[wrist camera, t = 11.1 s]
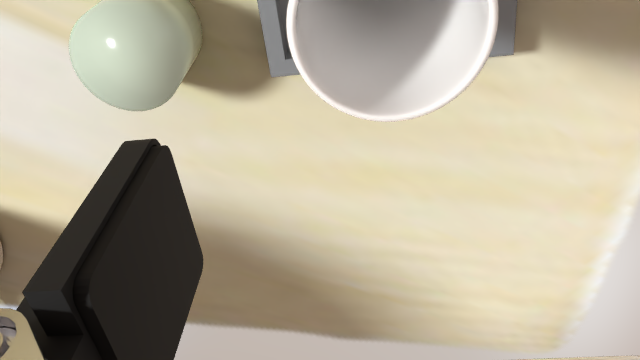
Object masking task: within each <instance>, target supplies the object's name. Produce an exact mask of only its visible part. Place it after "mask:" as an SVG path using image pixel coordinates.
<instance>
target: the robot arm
mask: <svg viewBox="0 0 640 360" xmlns="http://www.w3.org/2000/svg"><path fill="white" fill-rule="evenodd" d="M2 262H3V249H2V245H1V241H0V269H1V266H2ZM202 269H203V255H202V251H201V248H200V245H199V241H198V238H197V235H196V232H195V228H194V225H193V222H192V219H191V215H190V212H189V209H188V206H187V202H186V199H185V196H184V193H183V189H182V186H181V183H180V180H179V177H178V173H177V170H176V167H175V164H174V160H173V157H172V154H171V151H170V149H169V148H168V146H166V145H165V146H161V145H160V143H159V142H158V141H157V140H156V139H146V140H134V141H125V142H124V143H123V144H122V145H121V147H120V148H119V150H118V151H117V152H116V154H115V155H114V157H113V158H112V160H111V161H110V163H109V164H108V166H107V167H106V169H105V170H104V172H103V173H102V175H101V176H100V178H99V179H98V181H97V182H96V184H95V185H94V187H93V188H92V190H91V191H90V193H89V194H88V196H87V197H86V198H85V200H84V201H83V203H82V204H81V206H80V207H79V209H78V210H77V212H76V213H75V215H74V216H73V218H72V219H71V221H70V222H69V224H68V225H67V227H66V228H65V230H64V231H63V233H62V234H61V236H60V237H59V239H58V240H57V242H56V243H55V244H54V246H53V247H52V249H51V250H50V252H49V253H48V255H47V256H46V258H45V259H44V261H43V262H42V264H41V265H40V267H39V268H38V270H37V271H36V273H35V274H34V276H33V277H32V279H31V280H30V282H29V283H28V285H27V286H26V288H25V289H24V290H23V292H22V293H23V294H24V296H25V298H24V299H23V301H22V302H21V304H20V305H19V307H18V308H17V310H13V309H3V308H0V360H174V357H175V353H176V351H177V348H178V344H179V341H180V338H181V335H182V332H183V329H184V326H185V323H186V320H187V317H188V314H189V310H190V307H191V304H192V301H193V298H194V295H195V292H196V289H197V286H198V283H199V279H200V276H201V273H202ZM518 360H519V359H518ZM520 360H640V355H638V356H607V357H579V358H578V357H577V358H548V359H520Z"/></svg>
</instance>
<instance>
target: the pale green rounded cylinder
mask: <svg viewBox="0 0 640 360" xmlns="http://www.w3.org/2000/svg"><path fill="white" fill-rule="evenodd" d="M201 45H202V27H201V23H200V19H199V17H198V14H197V12H196V10H195V9H194V7H193V5H192V4H191V3H190V2H189V0H101V1H100V2H99V3H97V4H96V5H95V6H94V7H92V8H91V9H90V10H89V11H87V12H86V13H85V14H84V15H82V16H81V17H80V18H79V20H78V21H77V22H76V24H75V25H74V27H73V29H72V32H71V35H70V39H69V54H70V59H71V62H72V66H73V68H74V70H75V72H76V74H77V76H78V77H79V79H80V80H81V82H82V83H83V84H84V86H85V87H86V88H87V89H88V90H89V91H90V92H91V93H92V94H94V95H95V96H96V97H97V98H99V99H100V100H102V101H103V102H105V103H107V104H109V105H111V106H114V107H116V108H119V109H123V110H128V111H146V110H150V109H154V108H156V107H159V106H161V105H162V104H164V103H165V102H167V101H168V100H169V99H170V98H171V97H172V96H173V94H174V93H175V91H176V90H177V88H178V87H179V85H180V83H181V82H182V80H183V79H184V77H185V75H186V74H187V72H188V70H189V69H190V67H191V66H192V64H193V62H194V61H195V59H196V57H197V56H198V54H199V51H200V49H201Z"/></svg>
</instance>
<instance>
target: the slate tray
mask: <svg viewBox="0 0 640 360" xmlns="http://www.w3.org/2000/svg"><path fill="white" fill-rule="evenodd" d="M288 2H289V0H257V3H258V8H259V14H260V19H261V25H262V30H263V36H264V41H265V47H266V52H267V58H268V63H269V68H270V74H271V77H279V76H289V75H300V72H299V71H298V69H297V67H296V65H295V62H294V60H293V58H292V55H291V51H290V48H289V43H288V38H287V29H286V17H287V7H288ZM516 11H517V0H498V26H497V32H496V37H495V41H494V44H493V47H492V50H491V52H490V55H489V57H494V56H505V55H513V54H514V39H515V25H516Z"/></svg>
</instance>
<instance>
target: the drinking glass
mask: <svg viewBox="0 0 640 360" xmlns="http://www.w3.org/2000/svg"><path fill="white" fill-rule="evenodd" d="M497 26H498V0H289V2H288V7H287V17H286V29H287V38H288V43H289V48H290V51H291V55H292V58H293V60H294V62H295V65H296V67H297V69H298V71H299V72H300V74H301V76H302V77H303V79H304V80H305V82H306V83H307V84H308V85H309V87H310V88H311V89H312V90H313V91H314V92H315V93H316V94H317V95H318V96H319V97H320V98H322V99H323V100H324V101H325V102H327V103H328V104H330V105H331V106H333V107H334V108H336V109H338V110H340V111H342V112H344V113H346V114H349V115H351V116H354V117H357V118H361V119H365V120H371V121H381V122H395V121H404V120H409V119H414V118H417V117H420V116H424V115H426V114H429V113H431V112H433V111H435V110H437V109H440V108H441V107H443V106H445V105H446V104H448V103H449V102H451V101H452V100H454V99H455V98H456V97H458V96H459V95H460V94H461V93H462V92H463V91H464V90H465V89H466V88H467V87H468V86H469V85H470V84H471V83H472V82H473V81H474V79H475V78H476V77H477V76H478V74H479V73H480V71H481V70H482V68H483V66H484V65H485V63H486V61H487V59H488V57H489V55H490V52H491V50H492V47H493V44H494V41H495V37H496V32H497Z"/></svg>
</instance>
